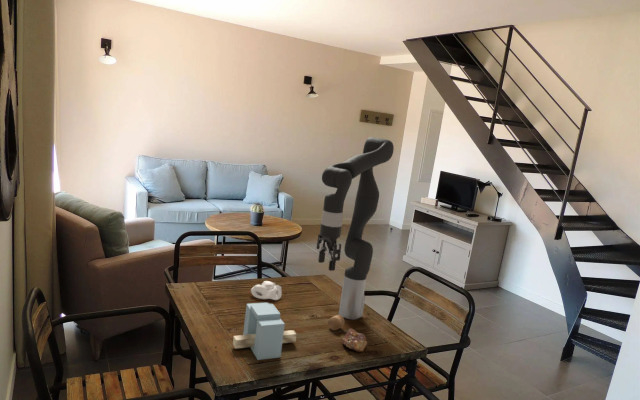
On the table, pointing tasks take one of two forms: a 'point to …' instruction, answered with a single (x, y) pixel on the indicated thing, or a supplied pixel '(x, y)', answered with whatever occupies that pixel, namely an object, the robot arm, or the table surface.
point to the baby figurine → (267, 291)
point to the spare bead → (336, 322)
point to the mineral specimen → (354, 340)
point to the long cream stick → (249, 339)
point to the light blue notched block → (264, 329)
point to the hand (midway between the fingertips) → (326, 266)
